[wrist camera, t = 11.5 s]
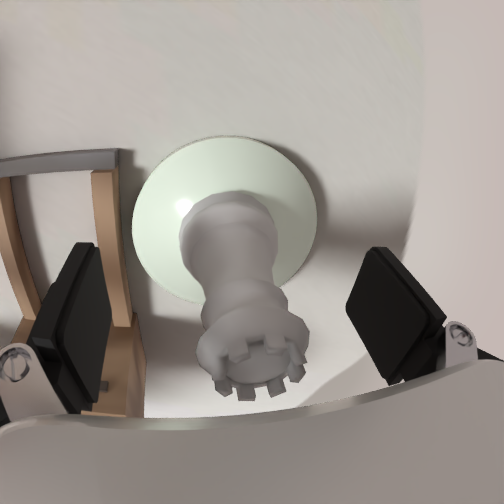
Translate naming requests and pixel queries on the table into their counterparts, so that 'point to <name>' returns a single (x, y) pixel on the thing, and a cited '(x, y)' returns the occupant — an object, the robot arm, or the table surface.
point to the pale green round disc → (218, 181)
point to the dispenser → (113, 260)
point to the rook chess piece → (241, 297)
